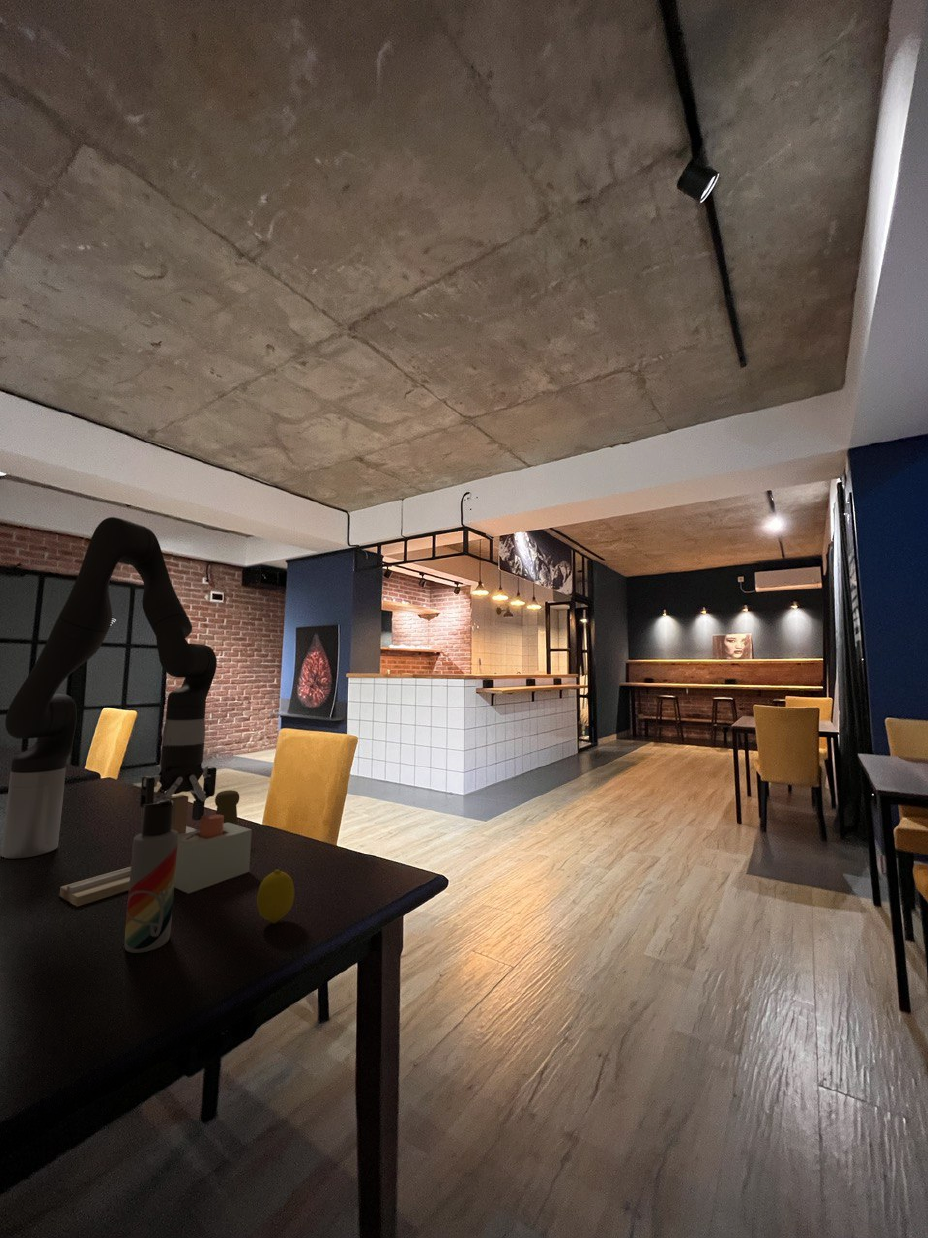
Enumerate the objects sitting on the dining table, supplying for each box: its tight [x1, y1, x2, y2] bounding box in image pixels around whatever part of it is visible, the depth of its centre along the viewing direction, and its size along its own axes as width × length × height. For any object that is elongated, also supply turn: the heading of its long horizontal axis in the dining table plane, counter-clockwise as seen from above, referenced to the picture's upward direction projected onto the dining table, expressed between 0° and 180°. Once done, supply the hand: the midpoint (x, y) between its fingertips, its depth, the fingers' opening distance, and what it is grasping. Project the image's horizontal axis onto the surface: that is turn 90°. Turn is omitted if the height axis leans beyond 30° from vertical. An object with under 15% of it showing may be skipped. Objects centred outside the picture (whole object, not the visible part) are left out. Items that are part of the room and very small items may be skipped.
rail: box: [58, 866, 131, 907], centre depth 95 cm, size 7×25×4 cm, turn 148°
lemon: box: [256, 869, 295, 924], centre depth 79 cm, size 6×6×8 cm
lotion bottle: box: [123, 799, 178, 954], centre depth 73 cm, size 6×6×20 cm
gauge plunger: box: [199, 814, 224, 839], centre depth 96 cm, size 4×4×6 cm
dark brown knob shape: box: [214, 789, 240, 826], centre depth 116 cm, size 6×6×11 cm
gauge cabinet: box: [174, 823, 253, 895], centre depth 96 cm, size 8×12×8 cm, turn 148°
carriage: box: [169, 794, 198, 835], centre depth 100 cm, size 6×7×11 cm
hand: (177, 824), depth 100 cm, fingers open, 7 cm apart
